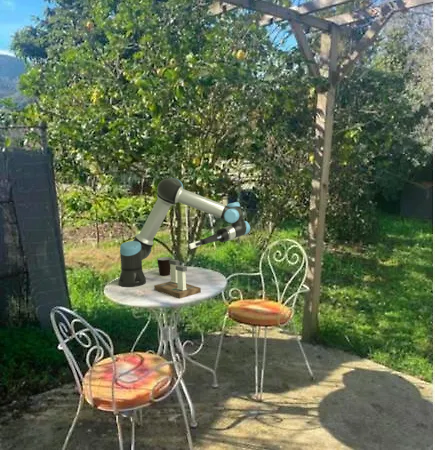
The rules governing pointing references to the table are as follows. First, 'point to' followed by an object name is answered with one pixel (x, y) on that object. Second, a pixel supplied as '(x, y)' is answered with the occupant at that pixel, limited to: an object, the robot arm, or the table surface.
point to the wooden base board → (172, 289)
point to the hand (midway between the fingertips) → (189, 246)
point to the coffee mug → (164, 266)
